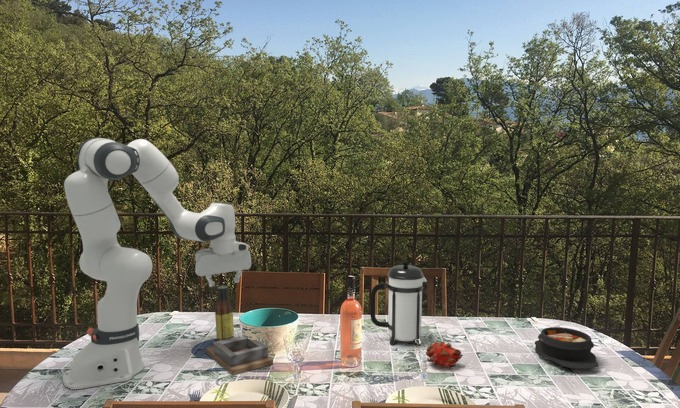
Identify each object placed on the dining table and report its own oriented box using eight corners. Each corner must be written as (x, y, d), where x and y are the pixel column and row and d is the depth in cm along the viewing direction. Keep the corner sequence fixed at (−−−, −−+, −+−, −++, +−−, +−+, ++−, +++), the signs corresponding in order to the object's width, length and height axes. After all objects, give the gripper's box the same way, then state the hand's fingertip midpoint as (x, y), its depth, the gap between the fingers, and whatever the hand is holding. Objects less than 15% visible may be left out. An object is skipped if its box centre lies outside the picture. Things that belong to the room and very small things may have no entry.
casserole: (521, 345, 175) (522, 322, 174) (572, 344, 176) (573, 321, 175) (555, 375, 150) (556, 349, 149) (614, 374, 151) (615, 348, 150)
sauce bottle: (236, 337, 181) (235, 284, 179) (230, 343, 175) (230, 289, 173) (219, 336, 181) (218, 284, 180) (213, 342, 175) (212, 288, 173)
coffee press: (402, 329, 190) (403, 253, 187) (433, 341, 177) (435, 260, 175) (368, 339, 179) (369, 259, 177) (399, 352, 167) (400, 266, 164)
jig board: (232, 375, 149) (232, 359, 148) (205, 352, 166) (205, 338, 166) (273, 364, 157) (273, 349, 157) (243, 343, 175) (243, 329, 174)
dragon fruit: (421, 368, 158) (458, 374, 158) (427, 362, 151) (466, 369, 150) (423, 342, 162) (459, 348, 162) (428, 335, 155) (466, 341, 155)
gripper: (198, 251, 166) (199, 291, 168) (252, 244, 178) (253, 281, 180) (191, 248, 171) (193, 287, 173) (245, 242, 183) (246, 278, 185)
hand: (224, 284), depth 176 cm, fingers open, 8 cm apart
